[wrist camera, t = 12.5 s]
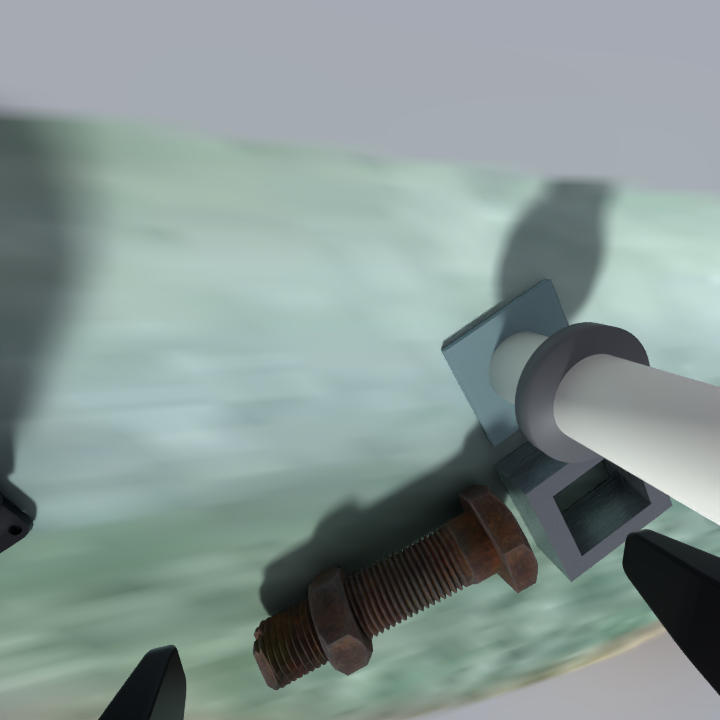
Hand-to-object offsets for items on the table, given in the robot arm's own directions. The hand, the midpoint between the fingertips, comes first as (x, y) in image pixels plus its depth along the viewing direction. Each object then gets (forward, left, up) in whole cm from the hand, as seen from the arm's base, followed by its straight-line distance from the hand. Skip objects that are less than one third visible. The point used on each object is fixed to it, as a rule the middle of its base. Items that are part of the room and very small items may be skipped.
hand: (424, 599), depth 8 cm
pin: (+10, -6, -13) cm, 17 cm away
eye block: (+10, -15, -13) cm, 22 cm away
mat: (+10, -6, -13) cm, 17 cm away
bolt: (-3, -11, -14) cm, 18 cm away
